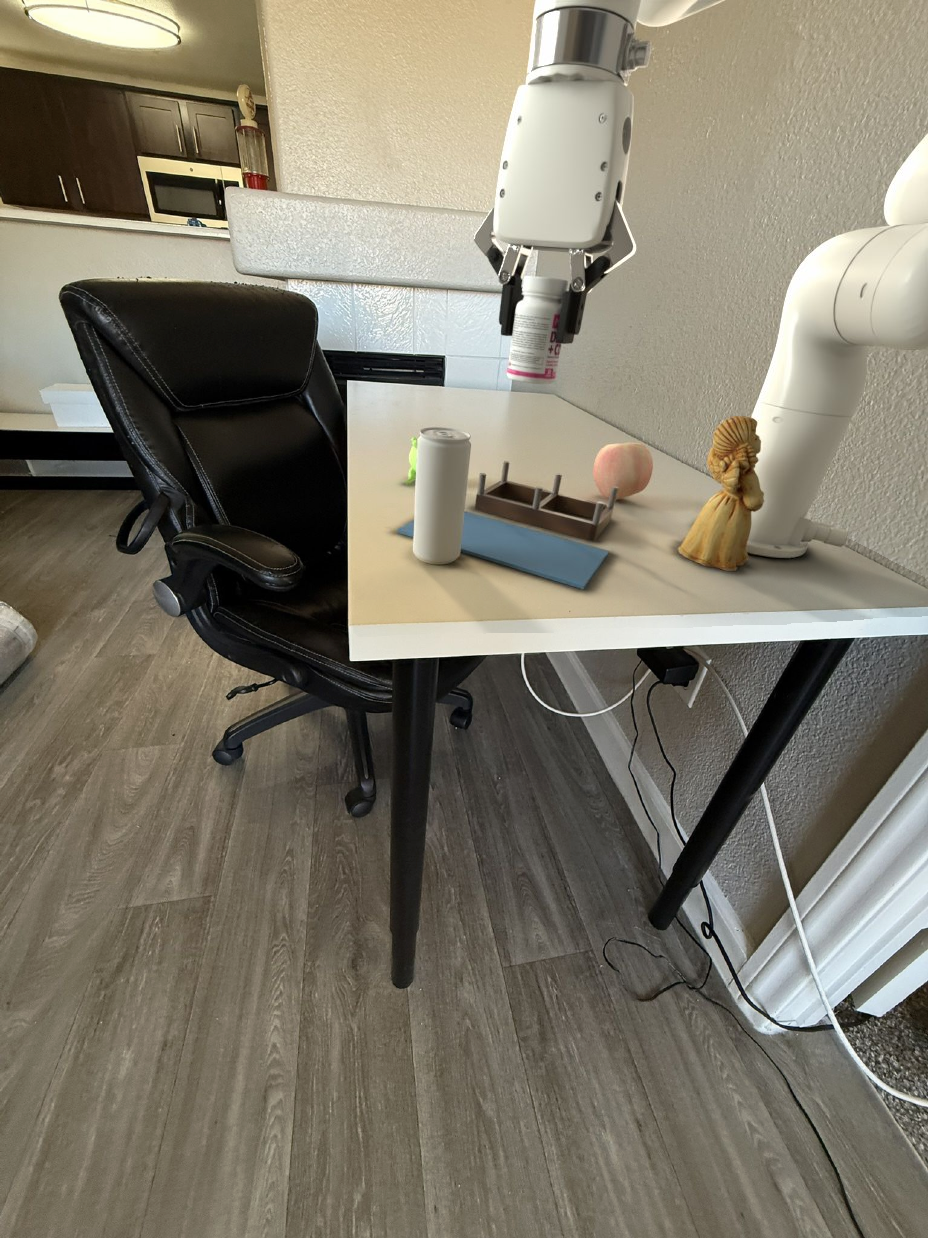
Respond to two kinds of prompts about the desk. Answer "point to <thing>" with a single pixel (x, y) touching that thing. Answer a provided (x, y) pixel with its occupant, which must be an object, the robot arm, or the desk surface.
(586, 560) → the mat
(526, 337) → the pill bottle
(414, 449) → the green toy figure
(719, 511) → the figurine
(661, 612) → the desk surface
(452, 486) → the beverage can
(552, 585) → the desk surface
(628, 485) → the peach
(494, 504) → the brown divided tray
